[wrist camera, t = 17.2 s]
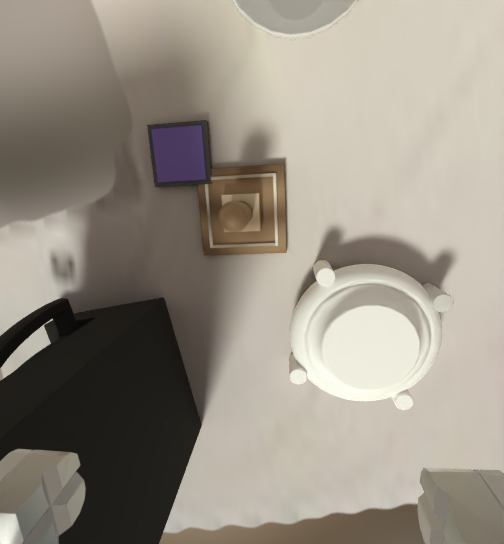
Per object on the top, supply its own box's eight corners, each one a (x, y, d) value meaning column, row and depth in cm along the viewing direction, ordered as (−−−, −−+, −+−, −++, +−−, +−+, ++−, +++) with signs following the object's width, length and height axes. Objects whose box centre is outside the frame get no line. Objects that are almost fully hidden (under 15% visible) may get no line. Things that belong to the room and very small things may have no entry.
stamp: (223, 194, 44) (207, 195, 35) (259, 193, 43) (252, 193, 34) (226, 230, 45) (211, 240, 36) (261, 229, 44) (254, 239, 35)
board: (197, 169, 44) (195, 169, 43) (284, 164, 42) (283, 163, 41) (205, 254, 47) (203, 255, 46) (286, 251, 45) (286, 253, 44)
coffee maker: (48, 293, 51) (-407, 489, 18) (158, 272, 48) (-137, 458, 15) (102, 436, 58) (-157, 783, 24) (203, 425, 55) (69, 804, 21)
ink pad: (151, 126, 43) (146, 124, 42) (208, 122, 42) (205, 119, 41) (158, 187, 45) (154, 187, 44) (212, 184, 44) (210, 183, 43)
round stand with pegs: (471, 352, 47) (503, 380, 40) (328, 418, 52) (335, 452, 45) (393, 215, 43) (414, 219, 36) (249, 301, 48) (242, 319, 42)
